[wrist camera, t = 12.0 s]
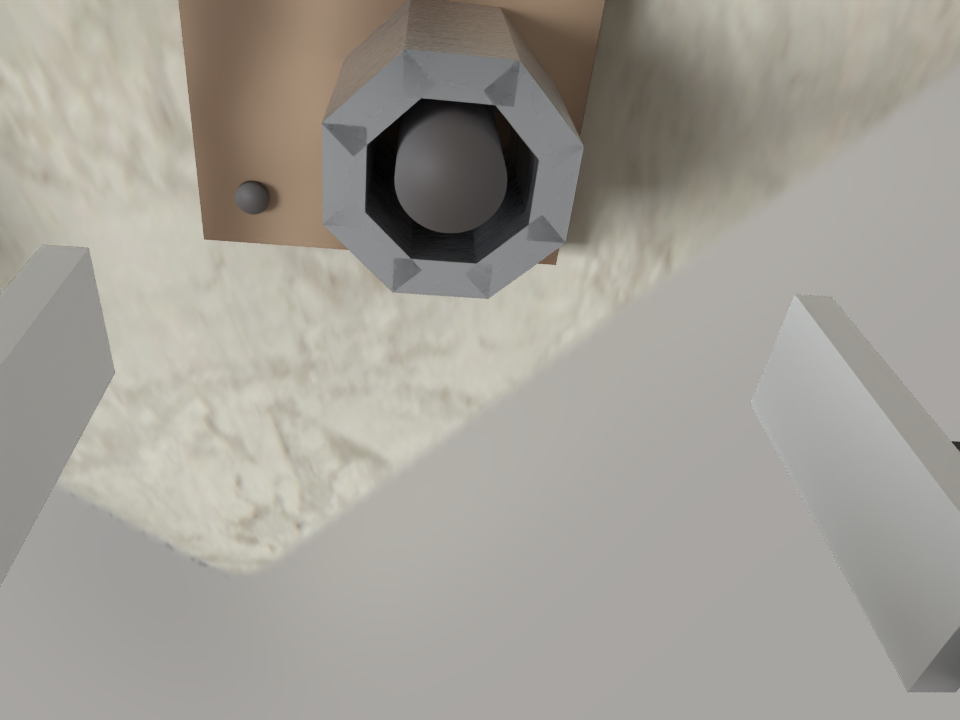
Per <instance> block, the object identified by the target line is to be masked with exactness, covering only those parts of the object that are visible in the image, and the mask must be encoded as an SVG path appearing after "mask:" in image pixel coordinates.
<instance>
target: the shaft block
mask: <svg viewBox="0 0 960 720" xmlns="http://www.w3.org/2000/svg"><path fill="white" fill-rule="evenodd" d="M406 1H407V0H179V9H180V19H181V28H182V37H183V46H184V56H185V65H186V74H187V84H188V93H189V102H190V112H191V121H192V130H193V139H194V149H195V158H196V167H197V177H198V186H199V195H200V205H201V214H202V223H203V233H204V239H206V240H220V241H234V242H248V243H262V244H276V245H289V246H303V247H317V248H331V249H345V250H349V249H348V248H346V247H345V246H344V245H343V244H342V243H341V242H340V241H339V240H338V239H337V238H336V237H335V236H334V235H333V234H332V233H331V232H330V231H329V230H328V229H327V228H326V227H325V226H324V225H323V171H322V121H323V119H324V116H325V113H326V110H327V107H328V105H329V102H330V99H331V96H332V93H333V91H334V88H335V85H336V82H337V79H338V77H339V74H340V71H341V68H342V65H343V63H344V60H345V57H346V56H348V55H349V54H350V53H351V52H352V51H353V50H354V49H355V48H356V47H357V46H358V45H359V44H361V43H362V42H363V41H364V40H365V39H366V38H367V37H368V36H369V35H370V34H371V33H372V32H374V31H375V30H376V29H377V28H378V27H379V26H380V25H381V24H382V23H383V22H384V21H385V20H387V19H388V18H389V17H390V16H391V15H392V14H393V13H394V12H395V11H396V10H397V9H398V8H400V7H401V6H402V5H403V4H404V3H405V2H406ZM439 1H449V2H458V3H467V4H477V5H486V6H495V7H500V8H501V9H502V11H503V12H504V14H505V15H506V16H507V18H508V19H509V20H510V22H511V23H512V25H513V26H514V27H515V29H516V30H517V31H518V33H519V34H520V35H521V37H522V38H523V40H524V41H525V42H526V44H527V45H528V46H529V48H530V49H531V50H532V52H533V53H534V55H535V56H536V57H537V59H538V60H539V61H540V63H541V64H542V66H543V67H544V68H545V70H546V71H547V72H548V74H549V75H550V76H551V78H552V80H553V82H554V84H555V86H556V88H557V90H558V92H559V94H560V96H561V99H562V101H563V103H564V105H565V107H566V109H567V111H568V113H569V115H570V118H571V120H572V122H573V124H574V126H575V128H576V130H577V132H578V134H579V136H580V133H581V127H582V122H583V117H584V111H585V106H586V100H587V95H588V90H589V84H590V79H591V74H592V68H593V63H594V57H595V52H596V47H597V41H598V36H599V31H600V25H601V20H602V14H603V9H604V4H605V0H439ZM510 130H511V124H510V123H509V122H508V120H507V119H506V118H505V117H504V115H503V114H502V113H501V112H500V110H499V109H498V108H497V106H496V105H489V104H479V103H468V102H458V101H447V100H436V99H426V98H421V99H420V100H418V101H417V102H416V103H415V104H414V105H413V106H411V107H410V108H409V109H408V110H407V111H406V112H405V113H403V114H402V115H401V116H400V117H399V118H398V119H396V120H395V121H394V122H393V123H392V124H391V125H389V126H388V127H387V128H386V129H385V130H384V131H382V132H381V133H380V134H381V135H382V136H383V137H384V139H385V140H386V141H387V142H388V143H389V144H390V145H391V146H392V147H393V148H394V150H395V151H396V152H397V156H396V166H395V177H394V180H395V190H396V194H397V197H398V200H399V202H400V204H401V206H402V207H403V209H404V210H405V211H406V213H407V214H408V215H409V216H410V217H411V218H412V219H413V220H414V221H416V222H417V223H418V224H420V225H422V226H423V227H425V228H428V229H430V230H433V231H437V232H441V233H461V232H465V231H469V230H472V229H474V228H476V227H478V226H480V225H482V224H483V223H485V222H486V221H487V220H488V219H490V218H491V217H492V216H493V215H494V214H495V212H496V211H497V210H498V208H499V207H500V205H501V203H502V201H503V199H504V196H505V193H506V188H507V171H506V167H505V162H504V157H503V153H502V148H504V147H505V146H506V145H507V144H509V138H510ZM558 251H559V248H558V249H557V250H555V251H554V252H553V253H551V254H550V255H548V256H547V257H546V258H544V259H543V260H541V261H540V262H539V263H538V264H552V265H556V262H557V256H558Z"/></svg>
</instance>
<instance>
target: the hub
mask: <svg viewBox="0 0 960 720" xmlns="http://www.w3.org/2000/svg"><path fill="white" fill-rule="evenodd" d="M421 98H426V99H436V100H447V101H458V102H468V103H479V104H489V105H496V106H497V108H498V109H499V110H500V112H501V113H502V114H503V115H504V117H505V118H506V119H507V120H508V122H509V123H510V124H511V130H510V138H509V144H507V145H506V146H505V147H504V148H502V153H503V157H504V162H505V167H506V171H507V188H506V193H505V196H504V199H503V201H502V203H501V205H500V207H499V208H498V210H497V211H496V212H495V214H494V215H493V216H492V217H491V218H490V219H488V220H487V221H486V222H485V223H483V224H482V225H480V226H478V227H476V228H474V229H472V230H469V231H465V232H461V233H441V232H437V231H433V230H430V229H428V228H425V227H423V226H422V225H420V224H418V223H417V222H416V221H414V220H413V219H412V218H411V217H410V216H409V215H408V214H407V213H406V211H405V210H404V209H403V207H402V206H401V204H400V202H399V200H398V197H397V194H396V190H395V180H394V177H395V166H396V156H397V152H396V151H395V150H394V148H393V147H392V146H391V145H390V144H389V143H388V142H387V141H386V140H385V139H384V137H383V136H382V135H381V134H380V133H381V132H382V131H384V130H385V129H386V128H387V127H388V126H389V125H391V124H392V123H393V122H394V121H395V120H396V119H398V118H399V117H400V116H401V115H402V114H403V113H405V112H406V111H407V110H408V109H409V108H410V107H411V106H413V105H414V104H415V103H416V102H417V101H418V100H420V99H421ZM583 149H584V145H583V143H582V141H581V139H580V136H579V134H578V132H577V130H576V128H575V126H574V124H573V122H572V120H571V118H570V115H569V113H568V111H567V109H566V107H565V105H564V103H563V101H562V99H561V96H560V94H559V92H558V90H557V88H556V86H555V84H554V82H553V80H552V78H551V76H550V75H549V74H548V72H547V71H546V70H545V68H544V67H543V66H542V64H541V63H540V61H539V60H538V59H537V57H536V56H535V55H534V53H533V52H532V50H531V49H530V48H529V46H528V45H527V44H526V42H525V41H524V40H523V38H522V37H521V35H520V34H519V33H518V31H517V30H516V29H515V27H514V26H513V25H512V23H511V22H510V20H509V19H508V18H507V16H506V15H505V14H504V12H503V11H502V9H501V8H500V7H495V6H486V5H477V4H467V3H458V2H449V1H439V0H407V1H406V2H405V3H404V4H403V5H402V6H401V7H400V8H398V9H397V10H396V11H395V12H394V13H393V14H392V15H391V16H390V17H389V18H388V19H387V20H385V21H384V22H383V23H382V24H381V25H380V26H379V27H378V28H377V29H376V30H375V31H374V32H372V33H371V34H370V35H369V36H368V37H367V38H366V39H365V40H364V41H363V42H362V43H361V44H359V45H358V46H357V47H356V48H355V49H354V50H353V51H352V52H351V53H350V54H349V55H348V56H346V57H345V60H344V63H343V65H342V68H341V71H340V74H339V77H338V79H337V82H336V85H335V88H334V91H333V93H332V96H331V99H330V102H329V105H328V107H327V110H326V113H325V116H324V119H323V121H322V171H323V225H324V226H325V227H326V228H327V229H328V230H329V231H330V232H331V233H332V234H333V235H334V236H335V237H336V238H337V239H338V240H339V241H340V242H341V243H342V244H343V245H344V246H345V247H346V248H348V249H349V250H350V251H351V252H352V253H353V254H354V255H355V256H356V257H357V258H358V259H359V260H360V261H361V262H362V263H363V264H364V265H365V266H366V267H367V268H368V269H369V270H370V271H371V272H372V273H373V274H374V275H375V276H376V277H377V278H378V279H379V280H380V281H382V282H383V283H384V284H385V285H386V286H387V287H388V288H389V289H390V290H391V291H392V292H395V293H410V294H425V295H440V296H455V297H469V298H484V299H489V298H490V297H491V296H493V295H494V294H495V293H497V292H498V291H500V290H501V289H502V288H504V287H505V286H507V285H508V284H509V283H511V282H512V281H514V280H515V279H516V278H518V277H519V276H521V275H522V274H523V273H525V272H526V271H527V270H529V269H530V268H532V267H533V266H534V265H536V264H537V263H539V262H540V261H541V260H543V259H544V258H546V257H547V256H548V255H550V254H551V253H553V252H554V251H555V250H557V249H558V248H559V247H561V246H562V245H564V244H565V243H566V239H567V233H568V228H569V223H570V218H571V212H572V207H573V202H574V197H575V191H576V186H577V181H578V176H579V170H580V165H581V160H582V155H583Z"/></svg>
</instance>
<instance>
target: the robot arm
mask: <svg viewBox="0 0 960 720" xmlns="http://www.w3.org/2000/svg"><path fill="white" fill-rule="evenodd" d="M114 374H115V370H114V365H113V360H112V356H111V351H110V346H109V341H108V337H107V332H106V327H105V323H104V318H103V313H102V308H101V304H100V299H99V294H98V290H97V285H96V280H95V276H94V271H93V266H92V261H91V257H90V252H89V248H85V247H70V246H55V245H42V246H41V247H40V248H39V249H38V251H37V252H36V253H35V254H34V255H33V256H32V258H31V259H30V260H29V261H28V262H27V263H26V265H25V266H24V267H23V268H22V269H21V270H20V272H19V273H18V274H17V275H16V276H15V277H14V279H13V280H12V281H11V282H10V283H9V284H8V286H7V287H6V288H5V289H4V290H3V291H2V293H1V294H0V585H1V584H2V582H3V580H4V578H5V577H6V575H7V573H8V571H9V569H10V567H11V565H12V563H13V562H14V560H15V558H16V556H17V554H18V552H19V550H20V549H21V547H22V545H23V543H24V541H25V539H26V537H27V536H28V534H29V532H30V530H31V528H32V526H33V524H34V523H35V520H36V519H37V517H38V515H39V513H40V511H41V510H42V508H43V506H44V504H45V502H46V500H47V498H48V497H49V495H50V493H51V491H52V489H53V487H54V485H55V484H56V482H57V480H58V478H59V476H60V474H61V472H62V471H63V469H64V467H65V465H66V463H67V461H68V459H69V458H70V456H71V454H72V452H73V450H74V448H75V446H76V444H77V443H78V441H79V439H80V437H81V435H82V433H83V431H84V430H85V428H86V426H87V424H88V422H89V420H90V418H91V417H92V415H93V413H94V411H95V409H96V407H97V405H98V404H99V402H100V400H101V398H102V396H103V394H104V392H105V391H106V389H107V387H108V385H109V383H110V381H111V379H112V378H113V376H114ZM750 404H751V406H752V408H753V409H754V411H755V413H756V415H757V417H758V418H759V420H760V422H761V424H762V426H763V428H764V430H765V431H766V433H767V435H768V437H769V439H770V441H771V442H772V444H773V446H774V448H775V450H776V452H777V454H778V455H779V457H780V459H781V461H782V463H783V465H784V466H785V468H786V470H787V472H788V474H789V476H790V477H791V479H792V481H793V483H794V485H795V487H796V488H797V490H798V492H799V494H800V496H801V498H802V499H803V501H804V503H805V505H806V507H807V509H808V510H809V512H810V514H811V516H812V518H813V520H814V522H815V523H816V525H817V527H818V529H819V531H820V533H821V534H822V536H823V538H824V540H825V541H826V543H827V545H828V547H829V549H830V551H831V553H832V554H833V556H834V558H835V560H836V562H837V564H838V565H839V567H840V569H841V571H842V573H843V575H844V577H845V578H846V580H847V582H848V584H849V586H850V588H851V589H852V591H853V593H854V595H855V597H856V599H857V601H858V602H859V604H860V606H861V608H862V610H863V612H864V613H865V615H866V617H867V619H868V621H869V623H870V624H871V626H872V628H873V630H874V632H875V634H876V635H877V637H878V639H879V641H880V643H881V644H882V647H883V648H884V650H885V652H886V654H887V655H888V658H889V659H890V661H891V662H892V665H893V667H894V669H895V670H896V672H897V674H898V676H899V678H900V680H901V681H902V683H903V685H904V687H905V689H906V690H907V692H956V691H957V690H958V689H959V688H960V442H953V441H950V439H949V438H948V437H947V436H946V435H945V433H944V432H943V431H942V430H941V429H940V427H939V426H938V425H937V424H936V423H935V421H934V420H933V419H932V418H931V416H930V415H929V414H928V413H927V412H926V410H925V409H924V408H923V407H922V406H921V404H920V403H919V402H918V401H917V400H916V398H915V397H914V396H913V395H912V394H911V392H910V391H909V390H908V389H907V387H906V386H905V385H904V384H903V383H902V381H901V380H900V379H899V378H898V376H897V375H896V374H895V373H894V372H893V370H892V369H891V368H890V367H889V366H888V364H887V363H886V362H885V361H884V360H883V358H882V357H881V356H880V355H879V353H878V352H877V351H876V350H875V349H874V348H873V346H872V345H871V344H870V343H869V341H868V340H867V339H866V338H865V337H864V335H863V334H862V333H861V332H860V330H859V329H858V328H857V327H856V326H855V324H854V323H853V322H852V321H851V320H850V318H849V317H848V316H847V315H846V314H845V312H844V311H843V310H842V309H841V307H840V306H839V305H838V304H837V303H836V301H835V300H834V299H833V298H832V297H827V296H812V295H797V294H795V295H794V298H793V300H792V303H791V305H790V307H789V310H788V312H787V315H786V317H785V320H784V322H783V325H782V327H781V329H780V332H779V334H778V337H777V339H776V342H775V344H774V347H773V349H772V352H771V354H770V357H769V359H768V361H767V364H766V366H765V369H764V371H763V373H762V376H761V378H760V381H759V384H758V386H757V388H756V391H755V393H754V396H753V398H752V400H751V403H750Z"/></svg>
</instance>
